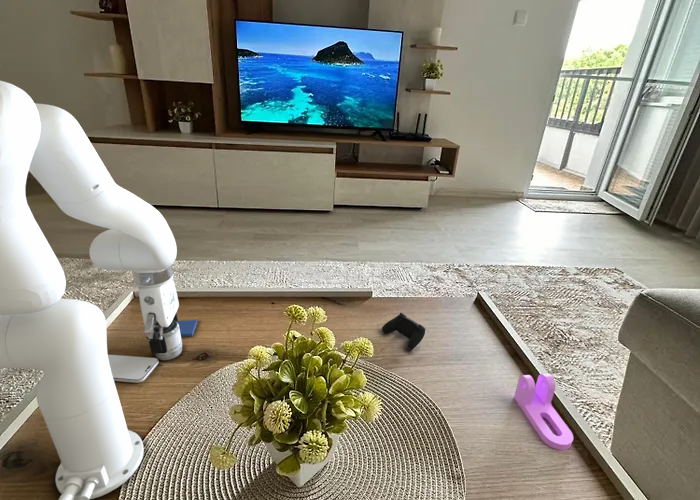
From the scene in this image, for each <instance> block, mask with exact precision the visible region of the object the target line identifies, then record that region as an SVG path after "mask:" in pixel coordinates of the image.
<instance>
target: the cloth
mask: <svg viewBox="0 0 700 500" xmlns="http://www.w3.org/2000/svg"><path fill="white" fill-rule="evenodd" d="M178 323H179V329H180V334H181V338H183V337H193V335H194V334H195V331H196V328H197V324H198V320H197V319H189V320H188V319H187V320H178Z"/></svg>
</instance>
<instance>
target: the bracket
mask: <svg viewBox="0 0 700 500" xmlns="http://www.w3.org/2000/svg"><path fill="white" fill-rule="evenodd" d="M555 391H556V382H555V379H554V377H553V376H552V375H551V374H550V373H540V374H539V375H538V377H537V379H536V383H535V380H534V378H533V376H532V375H530V374H522V375H520V376H518V380H517V384H516V387H515V392H514V396H513V398H514V401H516V403H517V404H518V406H519V407H520V409H521V411H522V412H523V413H524V415H525V417H527V420H528V421H529V423H530V424H531V426H532V427H533V429H534V430H535V432H536V433H537V435H538V436H539V438H540V439H541V441H542V442H543V443H544V444H546V445H547V446H548V447H549V448H552V449H554V450H558V451H567V450H568V449H570V448H571V446H572V444H573V441H574V434H573V432H572V430H571V429H570V428H569V426H568V425H567V424H566V423H565V421H564V420H563V418H561V416H560V414H559V413H558V412H557V410H556V409H555V407H554V406H553V405H552V401H553V397H554V395H555ZM544 419H545V420H547V422H548V423H549V424H550V426H551V427H552V429H553V430H554V431H555V433H556V434H554V432H553V431H552V430H551V429H550V427H549V426H548V424H547V423H546V421H545V420H544Z"/></svg>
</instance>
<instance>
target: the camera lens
mask: <svg viewBox="0 0 700 500" xmlns="http://www.w3.org/2000/svg"><path fill="white" fill-rule="evenodd" d="M154 325H160V324H159V323H158V322H155V323H154ZM153 330H154V333H158V334H159V328H153ZM163 337H165V341H166V346H167V353H161V354H154V355H155V358H157V359H158V360H160V361H169V360H172V359H173V360H174V359H175V358H176V357H179V356H180V354H181V353H182V351H183V340H182V337H181V334H180V329H179V324H178V323H177V322H176V321H174V320H172V322H171V324H170V325H169V326H168V327H163Z"/></svg>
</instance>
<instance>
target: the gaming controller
mask: <svg viewBox="0 0 700 500" xmlns="http://www.w3.org/2000/svg"><path fill="white" fill-rule="evenodd" d="M381 332H382V333H383V335H387V334H388V335H389V334H391V333H393V332H398V333H399V334H401V335H402V336H404V337H405V338H406V339H408V343H407V347H406V350H407V351H408V352H413V351H414V350H415V349H416V348H417V347H419V345H421V343H422V342H423V340H424V339H425V336H426V332H427V329H426V328H425V326H423V325H422V324H419V323H418V322H416V321H415V320H413V319H411V318H409V317H407V315H406V314H405V313H403V312H400V313H399V314H398V315H396V316H395V317H393V318H392V319H390V320H388V321H387V322H385V323H384V324H383V326H382V327H381Z"/></svg>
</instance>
